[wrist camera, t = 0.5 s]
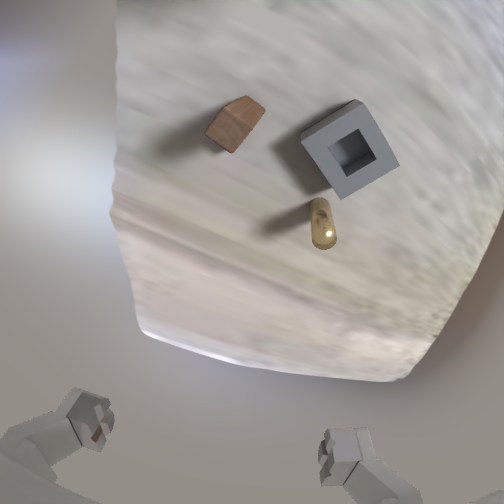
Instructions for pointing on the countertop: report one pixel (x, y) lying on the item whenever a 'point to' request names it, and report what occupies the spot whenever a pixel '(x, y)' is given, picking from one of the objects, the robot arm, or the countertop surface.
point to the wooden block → (234, 123)
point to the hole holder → (349, 148)
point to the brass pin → (322, 224)
